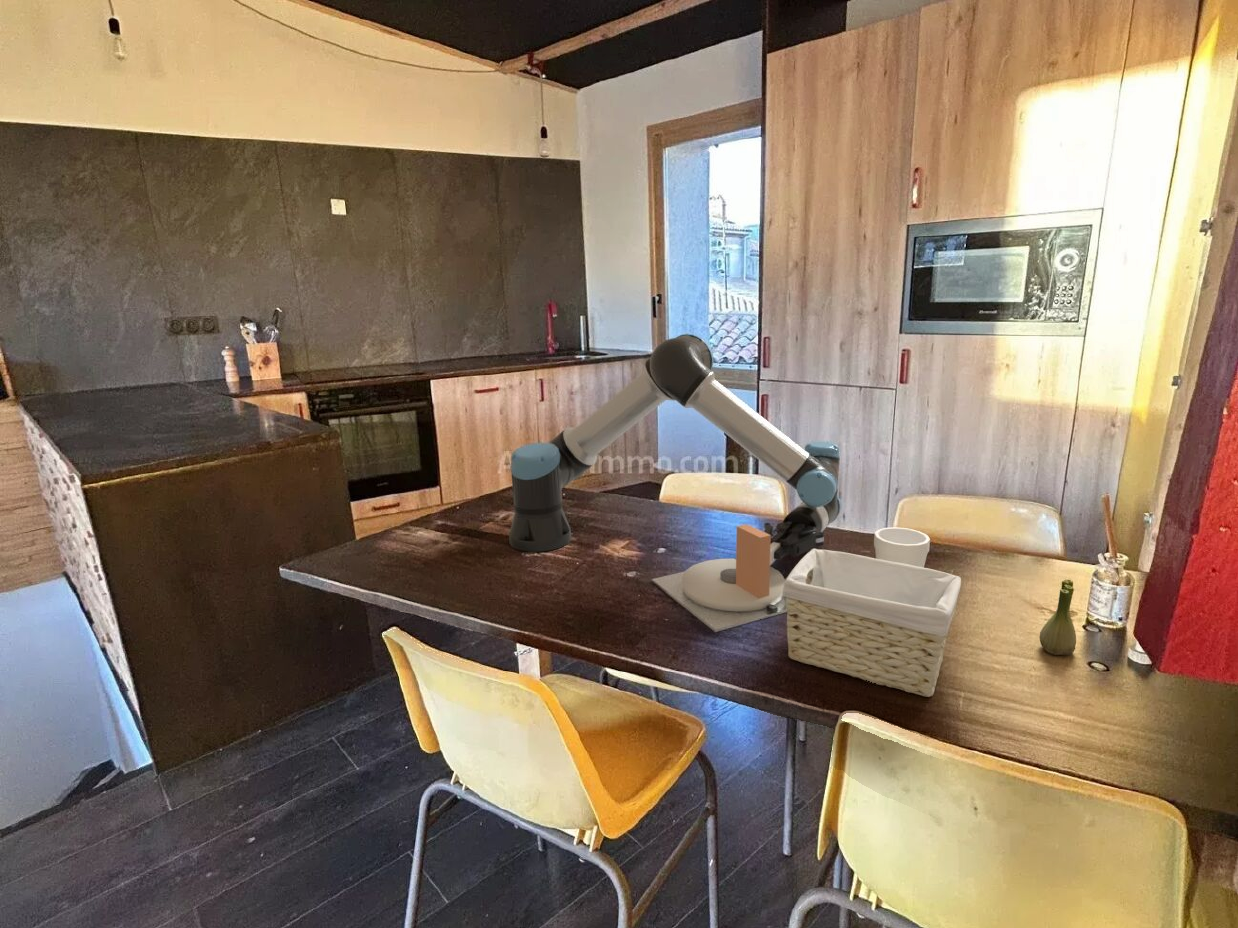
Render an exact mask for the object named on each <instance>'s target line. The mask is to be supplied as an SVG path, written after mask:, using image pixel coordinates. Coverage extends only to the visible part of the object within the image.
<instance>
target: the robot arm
mask: <svg viewBox="0 0 1238 928" xmlns="http://www.w3.org/2000/svg"><path fill="white" fill-rule="evenodd" d="M713 367H714V352H713V350H712V347H711V346H710V345H709V343H708V342H707V341H706V340H705V339H703V338H702V337H700V336H698V335H695V334H691V333H684V334H680V335H677V336H676V337H672V338H669V339H666V340H664V341H661V343H659V344H658V345H657V346H656V347H655V348H654V350H653V352H652V354H651V356H650V357H649V358H648V359H647V360H645V362H644V365H643V371H642V372H641V373H640V374H639V375H638V376H637V377H636V378H634V379H633V380H632V381H631V382H630V383H628V384H627V385H626V386H624V388H622V389H621V390H620V391H619V392H617V393H616V394H615V395H614V396H613V397H611V398H610V399H609V400H608V401H606V403H604V404H603V405H601V407H599V408H598V409H597V410H596V411H594V412H593V413H592V414H591V415H589V416H588V417H587V418H586V419H585V420H583V422H581V423H580V424H578V426H576V427H573V426H571V427H570V426H568V427H566V428H565V429H563V430H562V431H561V432H560V433H558V434H557V435H556V436H555V437H554V438H553V439H551V440H550V441H548V442H533V443H529V444H524V445H521V446H519V447H518V448H516V449H515V450H514V451H513V452H512V454H511V456H510V465H509V466H510V473H511V485H512V486H511V487H512V498H513V499H512V500H513V510H514V512H513V513H514V514H513V518H512V521H511V525H510V530H509V532H508V533H509V534H508V537H509V539H508V540H509V545H510V546H511V547H512V548H513V549H515V550H518V551H522V552H528V553H529V552H530V553H531V552H532V553H533V552H535V553H536V552H538V553H539V552H547V551H554V550H556V549H560V548H563V547H564V546H566V545H569V543H570V542H571V541H572V530H571V526H570V525H569V522H568V520H567V517H566V514H565V512H564V508H563V495H562V493H563V491H562V490H563V488H565V487H566V486H568V485H569V484H570V483H572V482H574V481H576V480H578V479H579V478H580V477H582V476H583V475H584V473H585V472H586V471H587V470H589V469H590V468H591V467H592V466H593V465H595V464H596V463H597V460H598V454H599V453H601V452H602V451H603V450H604V449H606V448H607V447H609V446H610V445H612V443H614V442H615V441H616V440H617V439H618V438H620V437H621V436H623V434H625V433H626V432H627V431H629V430H630V429H631V428H632V427H633V426H635V425H636V424H637V423H639V422H640V421H641V420H643V419H644V418H645V417H646V416H648V415H649V414H650V413H651V412H653V411H655V410H656V408H658V407H659V406H660V405H662V403H664V402H665V401H673V402H674V401H676V402H677V403H678V404H680V405H681V406H682V407H683V408H685V409H689V408H693V410H695V411H697V412H698V414H700V415H701V416H702V417H704V418H705V419H706V420H708V422H710V423H711V424H713V425H714V426H715V427H717V429H719V430H721V432H722V433H724V434H725V435H726V436H728V437H729V438H730V439H731V440H732V441H734V442H736V443H737V444H738V445H739V446H740V447H742V448H743V449H744V450H746V451H747V452H748V453H749V454H750V455H752V456H754V458H755V459H757V460H759V462H761V463H762V464H763V465H764V466H766V467H767V468H768V469H770V470H771V471H772V472H773V473H774V474H776V475H777V476H779V478H781V479H782V480H783V481H785V483H787V484H788V485H790V486H791V488H793V489H795V490H796V493H797V496H798V497H799V499H800V501H802V502H801V503H800V504H799V505H798V506H796V507H795V508H793V510H791V511H790V512H789V513H788V514H786V516H785V517H784V519H783V521H782V522H780V523H777V524H776V525H773V524H771V523H769V522H765V523H764V527H763V529H764V530H763V532H765V533H767V534H769V535H771V545H770V566H771V565H773V563H774V562H775V561H776V560H781V559H782V558H783V557H787V556H788V555H790V557H792V558H796V557H798V556H800V555H802V554H804V553H806V552H809V551H811V550H812V549H815V548H816V547H820V546H824V543H825V533H824V532H823V531H825V529H826V528H827V527H828V526H829V525H830V524H831V523H833V522H834V521H835V520H836V519H837V518H838V516H839V515H840V513H841V511H842V507H843V506H842V505H843V504H842V500H841V498H840V496H839V495H838V487H839V486H838V484H839V471H840V459H841V458H840V446H839V445H838V443H837V444H836V443H835V442H829V441H811V442H808V443H807V444H806V445H805V446H804V448H803V447H801V446H800V445H799V444H798V443H797V442H796V441H794V440H793V439H791V438H790V437H789V436H788V435H787V434H785V433H784V432H783V431H781V430H780V429H779V428H778V427H776V426H775V425H774V424H772V423H771V422H770V421H768V420H767V419H766V418H765V417H763V416H762V414H760V413H759V412H758V411H756V410H755V409H753V408H752V407H751V406H749V404H747V403H746V402H744V401H743V400H742V399H741V398H739V397H738V396H737V395H736V394H734V393H733V392H731V390H730V389H728V388H727V387H725V385H723V384H722V383H720V382H719V381H718V380H716V377H715V372H714V371H713V370H712V369H713ZM774 534H775V535H774Z"/></svg>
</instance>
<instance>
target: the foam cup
mask: <svg viewBox="0 0 1238 928" xmlns="http://www.w3.org/2000/svg"><path fill="white" fill-rule="evenodd" d="M873 537H874V539H873V547H874V550H875V559H881V560H886V561H891V562H897V563H903V564H908V565H913V566H918V567H923V568H925V564H926V560H927V556H928V553H929V552H930V544H931V539H930V537H929V535H928V534H926V533H924V532H923V531H922V532H921V531H919V530H917V529H916V530H915V529H912V528H906V527H897V526H896V527H893V526H892V527H883V528H879V529H877V530H876V531H875V532H874V536H873Z"/></svg>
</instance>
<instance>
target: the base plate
mask: <svg viewBox="0 0 1238 928" xmlns="http://www.w3.org/2000/svg"><path fill="white" fill-rule="evenodd" d="M684 572H685V571H682V572H677V573H673V574H668V575H664V576H660V577H655V578H651V582H652V583H653V584H654V585H655V586H656V587H658V588H659V589H661V590H662V591H663V592H664V593H666V594H667V595H668V596H669V597H670V598H671V599H673V600H674V601H675V602H677V603H678V604H679V605H680V606H682V607H683V608H684V609H686V610H687V611H688V612H689V613H690V614H692V615H693V616H694V617H695V618H697V619H698V620H699V621H700V622H702V623H703V624H704V625H706V626H707V627H708V628H710V629H711V630H712V631H713V632H714V633H717V632H721V631H725V630H728V629H731V628H736V627H738V626H742V625H745V624H746V625H747V624H750V623H754V622H757V621H760V619H761V620H764V619H767V618H771V617H775V616H778V615H782V614H785V613H787V610H786V597H785V596H783V598H782V599H781V600H780V601H779V602H777V603H776V604H774V605H772V604H771V605H768V606H767V607H766V608H763V609H758V610H752V611H725V610H718V609H713V608H709V607H706V606H703V605H700V604H698V603H696V602H694V601H693V600H691V599H690V598H689V597H687V596H686V594H685V593H684V591H683V574H684ZM784 579H785V580H786V579H787V578H784Z"/></svg>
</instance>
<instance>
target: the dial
mask: <svg viewBox="0 0 1238 928" xmlns="http://www.w3.org/2000/svg"><path fill="white" fill-rule="evenodd" d="M735 543H736V544H735V545H736V549H735V551H736V553H735V555H736V556H735V557H736V558H717V559H709V560H704V561H701V562H698V563H696V564H694V565H691V566H690V567H688V568H687V569H686V570H685V571H683V572H684V574H683V591H684V593H685V594H686V596H687V597H689V598H690V599H691V600H693V601H694V602H696V603H698V604H700V605H703V606H706V607H709V608H713V609H718V610H725V611H752V610H758V609H763V608H766V607H767V606H768V605H771V604H772V605H774V604H776V603H777V602H779V601H780V600H781V599H782V598H783V596H784V595H783V588H784V582H785V579H786V578H785V577H784V576H783V574H782V573H781V572H780V571H778V570H777V569H775V568H774V567H772V566H771V565H770V545H771V535H769V534H767V533H765V532H764V530H763V531H762V530H760V529H758V528H756V527H754V526H752V525H750V524H748V523H745V524H742V525H736V542H735Z"/></svg>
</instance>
